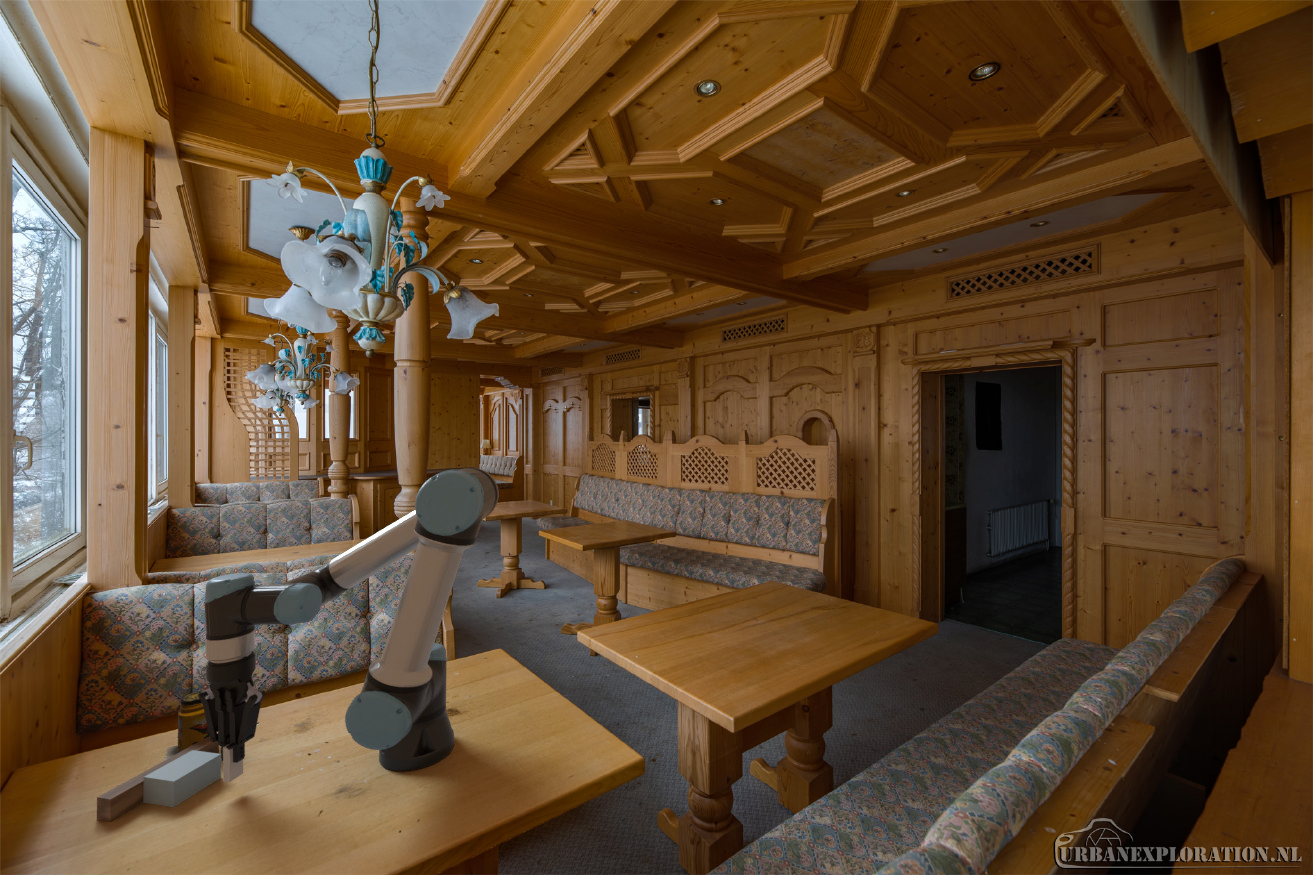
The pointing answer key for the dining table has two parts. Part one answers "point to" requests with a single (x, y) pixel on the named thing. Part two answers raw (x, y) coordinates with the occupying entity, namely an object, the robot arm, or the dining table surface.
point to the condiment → (190, 724)
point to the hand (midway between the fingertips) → (233, 777)
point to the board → (139, 786)
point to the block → (181, 778)
